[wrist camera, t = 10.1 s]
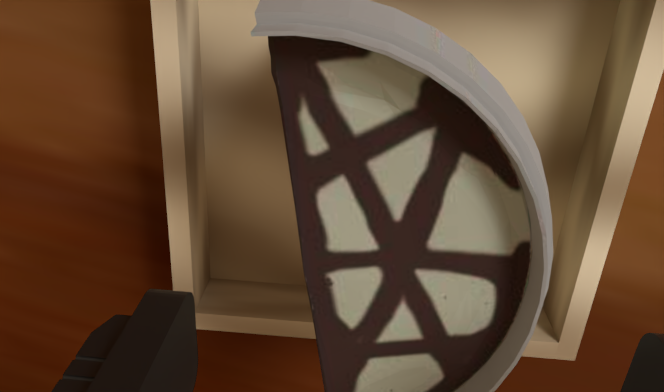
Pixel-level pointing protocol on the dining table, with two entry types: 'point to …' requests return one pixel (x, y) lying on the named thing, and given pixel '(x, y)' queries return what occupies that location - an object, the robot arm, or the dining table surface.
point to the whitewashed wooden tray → (272, 163)
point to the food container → (407, 199)
